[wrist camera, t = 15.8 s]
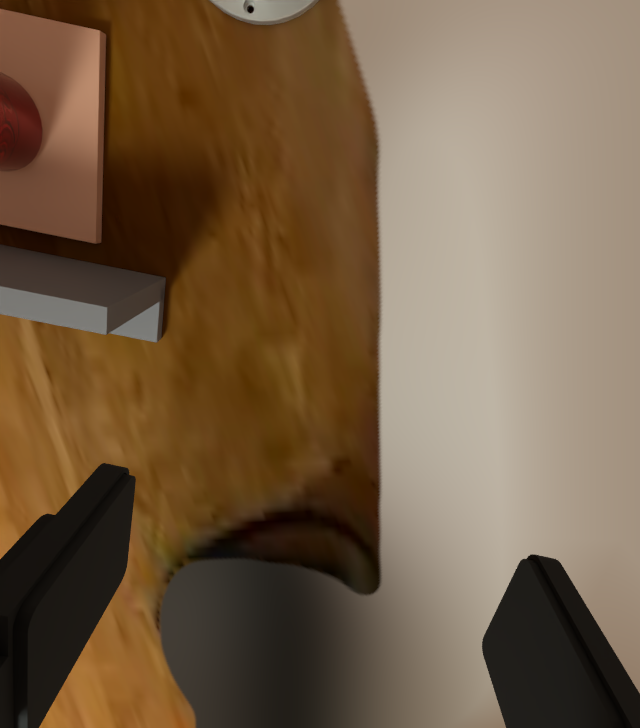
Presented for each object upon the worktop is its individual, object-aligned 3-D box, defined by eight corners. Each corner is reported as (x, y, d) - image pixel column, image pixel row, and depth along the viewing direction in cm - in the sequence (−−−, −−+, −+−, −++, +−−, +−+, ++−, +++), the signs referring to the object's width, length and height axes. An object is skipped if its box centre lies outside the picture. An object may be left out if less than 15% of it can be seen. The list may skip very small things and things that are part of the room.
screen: (-76, 229, 41) (-221, 242, 31) (165, 277, 42) (107, 307, 31) (-69, 293, 44) (-202, 327, 33) (161, 338, 44) (104, 385, 34)
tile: (-103, -12, 35) (-115, -17, 34) (106, 34, 36) (99, 30, 35) (-79, 206, 41) (-89, 206, 40) (101, 242, 41) (95, 243, 40)
